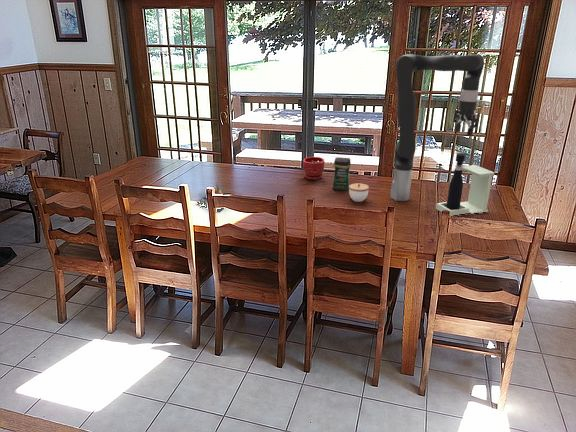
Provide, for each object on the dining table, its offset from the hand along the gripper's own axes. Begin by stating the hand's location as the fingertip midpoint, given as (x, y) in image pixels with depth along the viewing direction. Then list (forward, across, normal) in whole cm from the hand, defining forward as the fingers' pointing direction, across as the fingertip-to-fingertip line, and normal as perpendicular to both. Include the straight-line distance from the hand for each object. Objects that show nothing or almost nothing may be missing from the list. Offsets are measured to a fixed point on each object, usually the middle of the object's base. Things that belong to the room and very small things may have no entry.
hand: (463, 134), depth 217 cm
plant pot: (+40, -75, -47) cm, 97 cm away
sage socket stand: (+40, 0, +5) cm, 40 cm away
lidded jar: (+40, -31, -38) cm, 63 cm away
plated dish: (+41, -56, -114) cm, 133 cm away
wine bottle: (+40, 0, 0) cm, 40 cm away
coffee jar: (+40, -51, -39) cm, 76 cm away
